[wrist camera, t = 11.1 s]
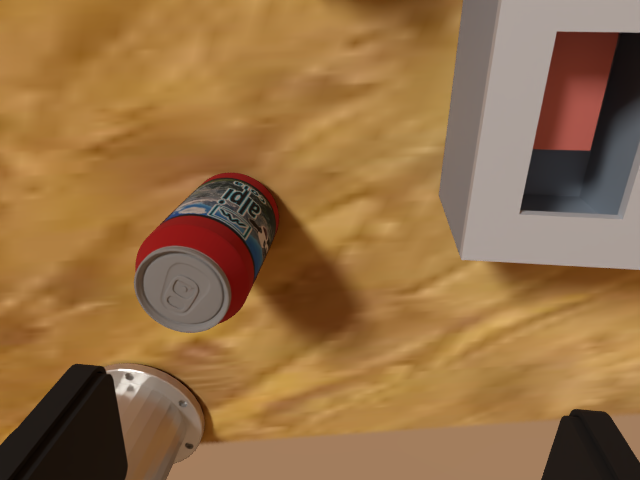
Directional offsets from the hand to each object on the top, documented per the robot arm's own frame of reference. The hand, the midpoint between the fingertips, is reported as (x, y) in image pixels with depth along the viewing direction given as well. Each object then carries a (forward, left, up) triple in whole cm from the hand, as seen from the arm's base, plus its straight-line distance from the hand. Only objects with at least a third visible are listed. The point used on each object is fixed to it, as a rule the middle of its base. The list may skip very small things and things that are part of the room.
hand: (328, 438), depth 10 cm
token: (+2, -11, -22) cm, 25 cm away
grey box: (+3, -11, -26) cm, 28 cm away
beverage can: (-6, +9, -26) cm, 28 cm away
